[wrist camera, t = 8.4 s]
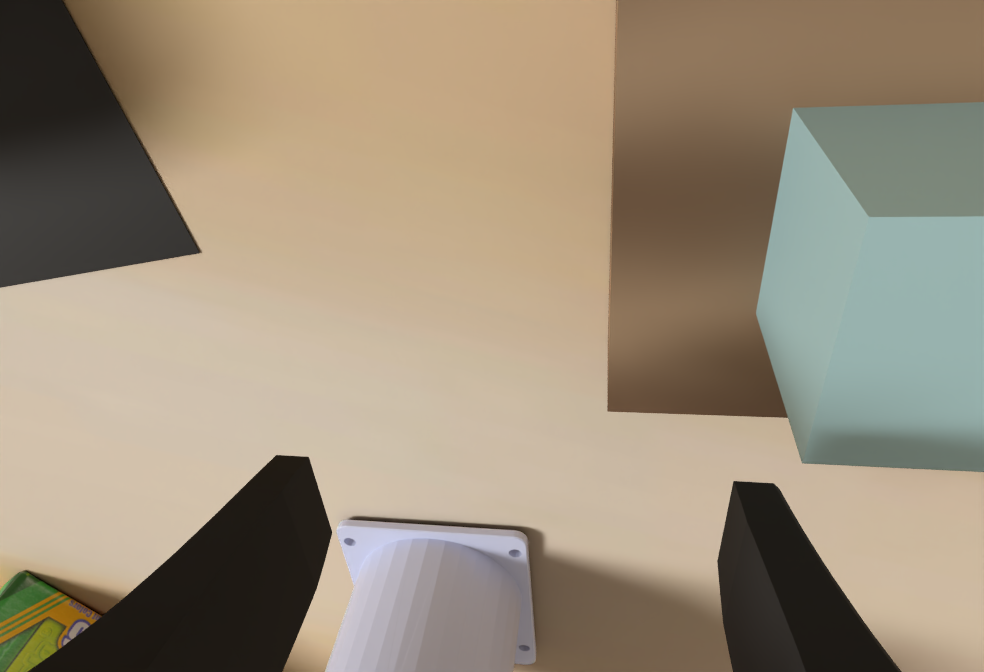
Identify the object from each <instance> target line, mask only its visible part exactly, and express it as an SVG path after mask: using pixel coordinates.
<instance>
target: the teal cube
mask: <svg viewBox="0 0 984 672" xmlns="http://www.w3.org/2000/svg"><path fill="white" fill-rule="evenodd" d="M756 316H757V319H758V322H759V326H760V329H761V332H762V335H763V338H764V342H765V345H766V348H767V351H768V355H769V358H770V361H771V364H772V367H773V371H774V374H775V377H776V380H777V384H778V387H779V390H780V393H781V396H782V400H783V403H784V406H785V409H786V413H787V416H788V419H789V422H790V425H791V429H792V432H793V435H794V438H795V442H796V445H797V448H798V451H799V454H800V458H801V461H802V463H807V464H828V465H849V466H870V467H890V468H911V469H932V470H953V471H974V472H984V102H972V103H939V104H906V105H873V106H840V107H807V108H793V111H792V117H791V122H790V128H789V133H788V139H787V144H786V150H785V155H784V161H783V166H782V172H781V177H780V183H779V189H778V194H777V200H776V205H775V211H774V216H773V222H772V227H771V233H770V238H769V244H768V249H767V255H766V260H765V266H764V271H763V277H762V282H761V288H760V293H759V299H758V304H757V310H756Z"/></svg>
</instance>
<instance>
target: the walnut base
mask: <svg viewBox="0 0 984 672" xmlns="http://www.w3.org/2000/svg"><path fill="white" fill-rule="evenodd" d="M972 102H984V0H616V36H615V77H614V118H613V158H612V199H611V240H610V281H609V322H608V411H611V412H639V413H668V414H697V415H726V416H755V417H784V418H788V416H787V413H786V409H785V406H784V403H783V400H782V396H781V393H780V390H779V387H778V384H777V380H776V377H775V374H774V371H773V367H772V364H771V361H770V358H769V355H768V351H767V348H766V345H765V342H764V338H763V335H762V332H761V329H760V326H759V322H758V319H757V316H756V310H757V304H758V299H759V293H760V288H761V282H762V277H763V271H764V266H765V260H766V255H767V249H768V244H769V238H770V233H771V227H772V222H773V216H774V211H775V205H776V200H777V194H778V189H779V183H780V177H781V172H782V166H783V161H784V155H785V150H786V144H787V139H788V133H789V128H790V122H791V117H792V111H793V108H807V107H840V106H873V105H906V104H939V103H972Z"/></svg>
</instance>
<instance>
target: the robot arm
mask: <svg viewBox="0 0 984 672" xmlns="http://www.w3.org/2000/svg"><path fill="white" fill-rule="evenodd" d="M331 535H332V530H331V527H330V524H329V521H328V518H327V514H326V511H325V508H324V505H323V502H322V498H321V495H320V492H319V489H318V486H317V482H316V479H315V476H314V473H313V470H312V466H311V463H310V460H309V457H299V456H281V455H276V456H275V457H274V458H273V459H272V460H271V461H270V462H269V463H268V464H267V465H266V466H265V467H264V468H262V469H261V470H260V471H259V472H258V473H257V474H256V475H255V476H254V477H253V478H252V479H251V480H250V481H249V482H248V483H247V484H246V485H245V486H244V487H243V488H242V489H241V490H240V491H239V492H238V493H237V494H236V495H235V496H234V497H233V498H232V499H231V500H230V501H229V502H228V503H227V504H226V505H225V506H224V507H223V508H222V509H221V510H220V511H219V512H218V513H217V514H216V515H215V516H214V517H212V518H211V519H210V520H209V521H208V522H207V523H206V524H205V525H204V526H203V527H202V528H201V529H200V530H199V531H198V532H197V533H196V534H195V535H194V536H193V537H191V538H190V539H189V540H188V541H187V542H186V543H185V544H184V545H183V546H182V547H181V548H180V549H179V550H178V551H177V552H176V553H174V554H173V555H172V556H171V557H170V558H169V559H168V560H167V561H166V562H165V563H163V564H162V565H161V566H160V567H159V568H158V569H157V570H155V571H154V572H153V573H152V574H151V575H150V576H149V577H148V578H146V579H145V580H144V581H143V582H142V583H141V584H140V585H138V586H137V587H136V588H135V589H134V590H133V591H132V592H131V593H129V594H128V595H127V596H126V597H125V598H124V599H122V600H121V601H120V602H119V603H117V604H116V605H115V606H114V607H113V608H111V609H110V610H109V611H108V612H107V613H105V614H104V615H103V616H102V617H100V618H99V619H98V620H97V621H95V622H94V623H93V624H91V625H90V626H89V627H88V628H86V629H85V630H84V631H82V632H81V633H80V634H78V635H77V636H76V637H74V638H73V639H72V640H71V641H69V642H68V643H67V644H65V645H64V646H63V647H61V648H60V649H59V650H57V651H56V652H55V653H53V654H52V655H50V656H49V657H48V658H46V659H45V660H43V661H42V662H40V663H39V664H38V665H36V666H35V667H33V668H32V669H30V670H29V671H27V672H282V671H283V669H284V666H285V664H286V662H287V659H288V657H289V654H290V652H291V650H292V647H293V645H294V643H295V640H296V638H297V635H298V633H299V631H300V628H301V626H302V623H303V621H304V618H305V616H306V613H307V611H308V609H309V606H310V604H311V601H312V599H313V596H314V594H315V591H316V589H317V586H318V582H319V579H320V575H321V572H322V569H323V565H324V562H325V558H326V554H327V550H328V546H329V543H330V539H331ZM337 535H338V538H339V541H340V544H341V547H342V550H343V553H344V557H345V560H346V563H347V566H348V569H349V572H350V575H351V578H352V581H353V584H354V589H353V592H352V595H351V598H350V601H349V604H348V606H347V609H346V612H345V615H344V618H343V621H342V624H341V627H340V630H339V633H338V635H337V638H336V641H335V644H334V647H333V650H332V653H331V656H330V659H329V662H328V664H327V667H326V670H325V672H513V671H514V664H524V665H530V664H533V663H534V662H535V661H536V641H535V628H534V615H533V602H532V589H531V576H530V563H529V550H528V539H527V536H526V535H525V534H524V533H522V532H520V531H516V530H502V529H487V528H471V527H455V526H440V525H424V524H408V523H393V522H377V521H361V520H343V521H341V522H340V523H339V525H338V527H337ZM718 572H719V584H720V595H721V605H722V615H723V624H724V629H725V634H726V639H727V644H728V649H729V654H730V659H731V664H732V669H733V672H901V671H900V669H899V668H898V667H897V665H896V664H895V663H894V662H893V660H892V659H891V658H890V656H889V655H888V654H887V652H886V651H885V650H884V648H883V647H882V646H881V644H880V643H879V642H878V640H877V639H876V638H875V636H874V635H873V634H872V632H871V631H870V629H869V628H868V627H867V625H866V624H865V623H864V621H863V620H862V618H861V617H860V616H859V614H858V613H857V611H856V610H855V608H854V607H853V605H852V604H851V603H850V601H849V600H848V598H847V597H846V595H845V594H844V592H843V591H842V590H841V588H840V587H839V585H838V584H837V582H836V581H835V579H834V578H833V576H832V575H831V573H830V572H829V570H828V569H827V567H826V566H825V564H824V563H823V561H822V560H821V558H820V556H819V555H818V553H817V552H816V550H815V548H814V547H813V545H812V544H811V542H810V541H809V539H808V537H807V536H806V534H805V532H804V531H803V529H802V527H801V526H800V524H799V522H798V521H797V519H796V517H795V516H794V514H793V512H792V510H791V509H790V507H789V505H788V503H787V502H786V500H785V498H784V496H783V495H782V493H781V491H780V489H779V488H778V487H777V486H776V485H775V484H774V483H756V482H738V481H734V482H733V487H732V492H731V497H730V502H729V507H728V512H727V517H726V522H725V527H724V532H723V537H722V541H721V546H720V551H719V556H718Z"/></svg>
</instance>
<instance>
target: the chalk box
mask: <svg viewBox="0 0 984 672" xmlns="http://www.w3.org/2000/svg"><path fill="white" fill-rule="evenodd" d="M100 617H102V616H101V615H99V614H97V613H96V612H94V611H92V610H90V609H89V608H87V607H85V606H84V605H82V604H80V603H79V602H77V601H75V600H73V599H72V598H70V597H68V596H67V595H65V594H63V593H61V592H59V591H58V590H56V589H54V588H53V587H51V586H49V585H48V584H46V583H44V582H42V581H41V580H39V579H37V578H36V577H34V576H33V575H31V574H30V573H28V572H26V571H22V572H19V573H18V574H16V575H15V576H14V577H13V578H12V579H11V580H9V581H8V582H7V583H6V584H5V585H4V586H2V587H1V588H0V672H27V671H29V670H30V669H32V668H33V667H35V666H36V665H38V664H39V663H40V662H42V661H43V660H45V659H46V658H48V657H49V656H50V655H52V654H53V653H55V652H56V651H57V650H59V649H60V648H61V647H63V646H64V645H65V644H67V643H68V642H69V641H71V640H72V639H73V638H74V637H76V636H77V635H78V634H80V633H81V632H82V631H84V630H85V629H86V628H88V627H89V626H90V625H91V624H93V623H94V622H95V621H97V620H98V619H99V618H100Z"/></svg>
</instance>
